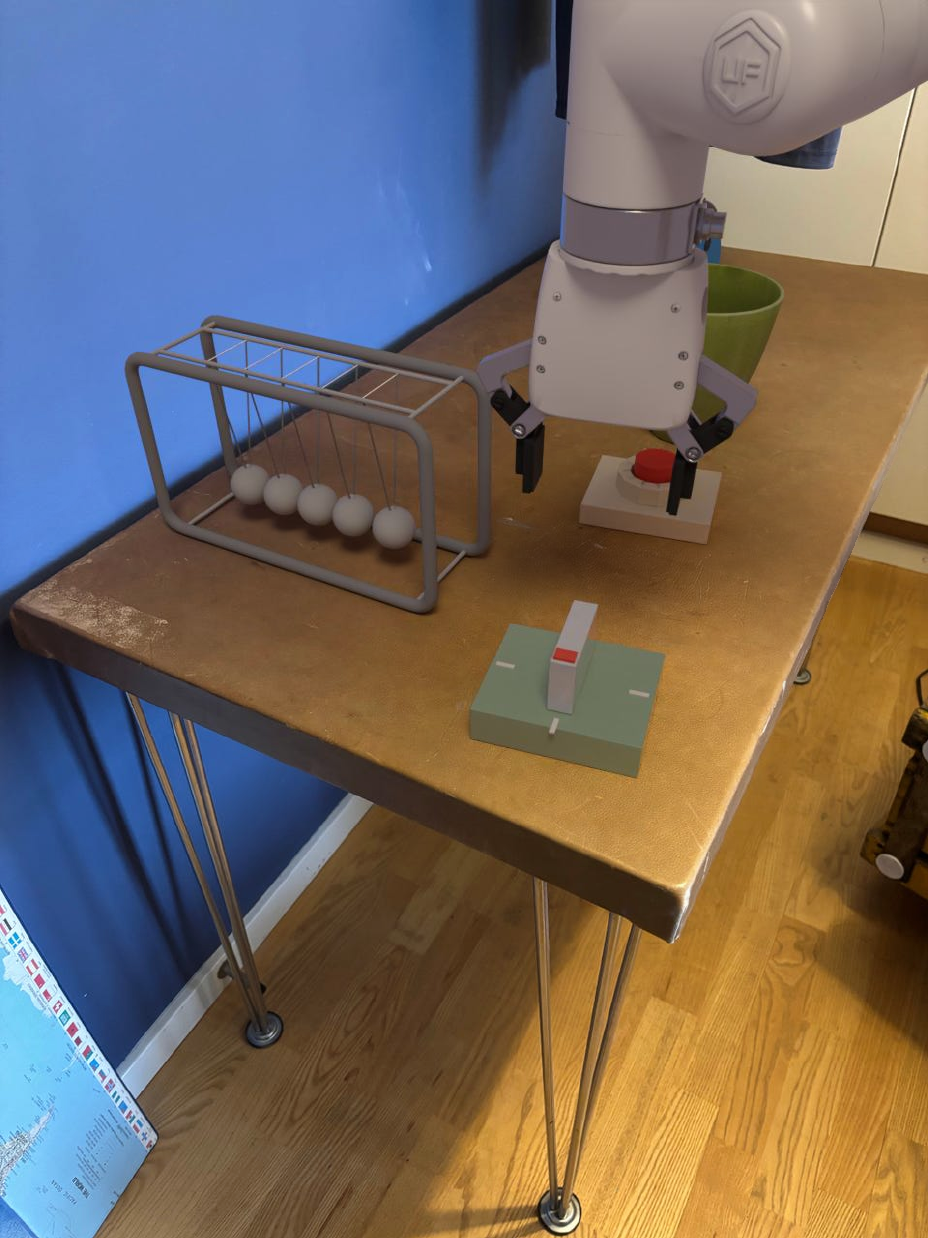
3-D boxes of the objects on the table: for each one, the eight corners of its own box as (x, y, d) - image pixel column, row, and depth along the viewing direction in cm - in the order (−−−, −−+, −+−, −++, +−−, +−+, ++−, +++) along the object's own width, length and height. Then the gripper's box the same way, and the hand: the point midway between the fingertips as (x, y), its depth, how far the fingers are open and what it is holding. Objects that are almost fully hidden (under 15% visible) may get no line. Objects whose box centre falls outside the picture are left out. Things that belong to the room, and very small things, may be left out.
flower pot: (757, 470, 94) (790, 317, 84) (612, 457, 97) (628, 308, 87) (751, 407, 106) (779, 266, 96) (622, 397, 108) (636, 259, 98)
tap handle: (570, 646, 68) (574, 596, 65) (593, 651, 68) (599, 601, 65) (546, 709, 63) (549, 657, 60) (571, 715, 62) (576, 663, 59)
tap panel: (662, 678, 70) (667, 646, 68) (635, 785, 61) (640, 752, 59) (511, 647, 73) (512, 616, 71) (467, 744, 64) (466, 712, 63)
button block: (718, 491, 91) (725, 455, 89) (706, 545, 84) (713, 507, 81) (600, 473, 94) (603, 438, 92) (578, 523, 87) (581, 486, 84)
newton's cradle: (492, 558, 82) (494, 371, 71) (434, 622, 75) (426, 426, 64) (233, 480, 94) (200, 309, 83) (162, 529, 87) (115, 349, 76)
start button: (679, 467, 88) (681, 451, 87) (672, 488, 85) (675, 471, 84) (637, 461, 89) (639, 445, 88) (630, 481, 86) (632, 465, 85)
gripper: (791, 221, 51) (737, 485, 62) (496, 199, 55) (493, 451, 66) (787, 262, 46) (728, 544, 56) (459, 234, 50) (462, 503, 61)
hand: (601, 494), depth 61 cm, fingers open, 9 cm apart
